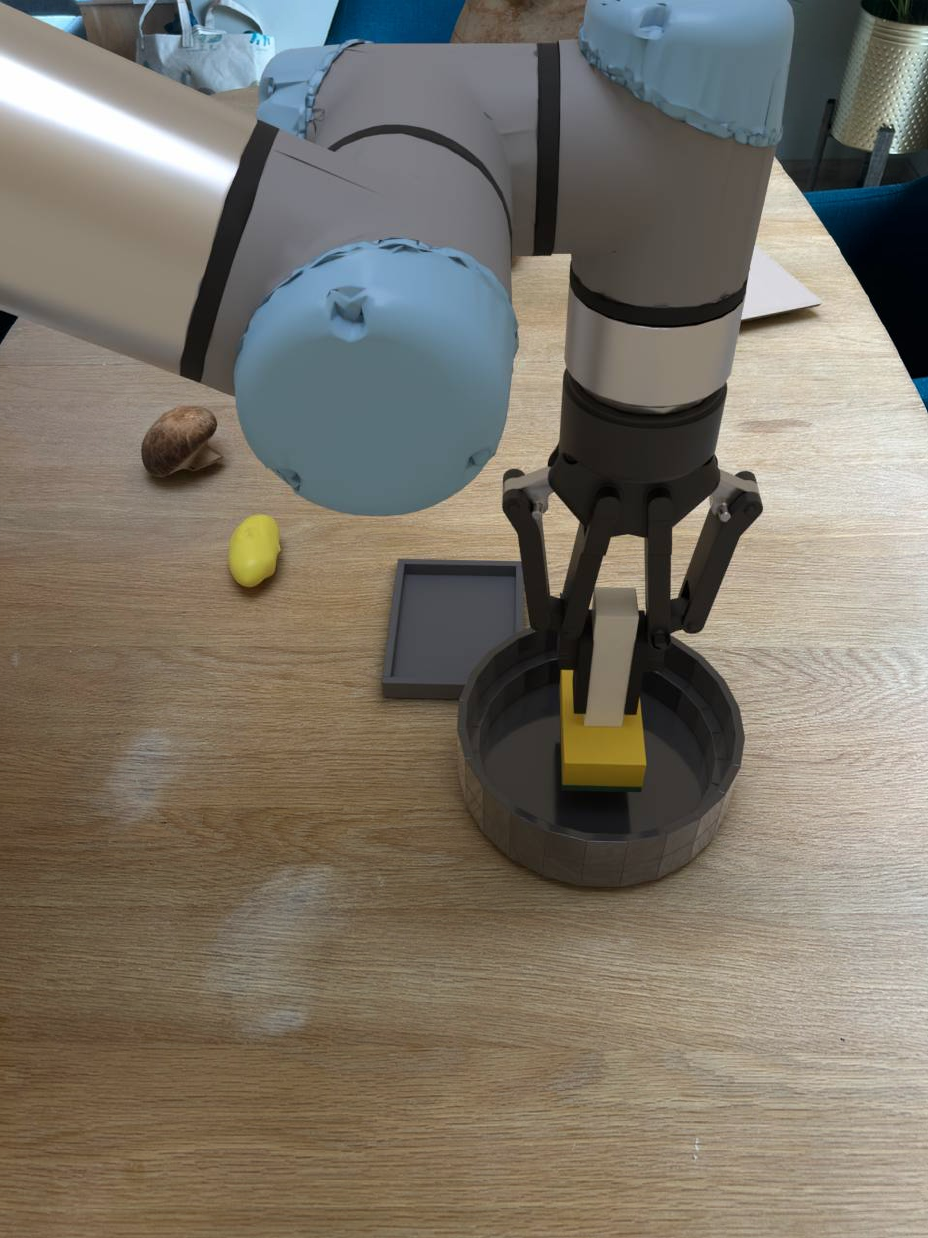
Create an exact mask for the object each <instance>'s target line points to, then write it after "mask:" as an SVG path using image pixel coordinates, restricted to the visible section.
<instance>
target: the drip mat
mask: <svg viewBox="0 0 928 1238" xmlns="http://www.w3.org/2000/svg"><path fill="white" fill-rule="evenodd" d="M396 563H397V564H396V569H395V570H396V571H395V578H394V585H393V594H392V599H391V600H392V601H391V609H390V615H389V623H388V632H387V639H386V646H385V653H384V662H383V669H382V675H381V689H382V697H383V698H397V699H432V700H433V699H435V700H436V699H438V700H439V699H440V700H459V699H460V696H461V694H462V691H463V689H464V687H465V684H466V682H467V679H468V677H469V675H470V673H471V672H472V671H473V669H474V668H475V667H476V666H477V665H478V663H479V662H480V661H481V660H482V658H483V657H484V656H485V655H486V654H487V652H489V651H490V650H491V649H492V648H494V647H495V646H497V645H498V644H499V643H501V642H502V641H504V640H505V639H507V638H508V637H509V636H511V635H512V634H514V633H516V632H519V631H521V630H524V579H523V571H522V564H521V560H488V559H486V560H484V559H435V558H434V559H433V558H398V559H397V562H396Z"/></svg>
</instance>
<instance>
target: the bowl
mask: <svg viewBox="0 0 928 1238" xmlns="http://www.w3.org/2000/svg"><path fill="white" fill-rule="evenodd" d="M671 642H672V644H671V646H670V647H669V649H667V650H665V654H664V659H663V664H662V667H661V668H660V669H659V671H644V674H643V680H642V686H641V692H640V705H641V715H642V725H643V735H644V745H645V755H646V770H645V775H644V780H643V785H642V791H641V792H607V791H568V790H562V779H561V743H560V708H559V688H560V675H561V670H560V668H559V666H558V655H557V644H558V633H557V631H555V630H553V629H550V628H549V629H548V630H546V631H542V632H539V631H535V630H533V629H532V628H531V627H530V626H529V627H526V628H523V630H521V631H519V632H516V633H514V634H512V635H511V636H509V637H508V638H507V639H505V640H504V641H502V642H501V643H499V644H498V645H497V646H495V647H494V648H492V649H491V650H490V651H489V652H487V654H486V655H485V656H484V657H483V658H482V660H481V661H480V662H479V663H478V665H477V666H476V667H475V668H474V669H473V671H472V672H471V673H470V675H469V677H468V679H467V682H466V684H465V687H464V689H463V691H462V694H461V696H460V699H458V705H457V721H456V723H457V724H456V740H457V742H456V744H457V766H458V767H457V769H458V771H457V772H458V779H459V783H460V788H461V792H462V795H463V799H464V803H465V805H466V808H467V809H468V812H470V814H471V816H472V817H473V819H474V821H475V822H476V824H477V825H478V827H479V829H480V830H481V832H482V833H483V834H484V836H485V837H487V838H488V839H489V841H491V842H492V843H493V844H494V845H495V846H496V847H497V848H498V849H499V850H500V851H502V852H503V853H504V854H505V855H506V856H507V857H508V858H510V859H511V860H513V861H515V862H517V863H519V864H521V865H522V866H524V867H526V868H527V869H529V870H532V871H533V872H535V873H537V874H538V875H541V876H542V877H545V878H549V879H553V880H556V881H561V882H564V883H568V884H571V885H575V886H579V887H580V886H582V887H606V888H607V887H608V888H609V887H610V888H621V887H626V886H631V885H636V884H641V883H645V882H651V881H655V880H659V879H660V878H662V877H664V876H666V875H668V874H670V873H671V872H673V871H676V870H677V869H679V868H681V867H683V866H685V865H687V864H688V863H690V862H691V861H692V860H693V859H694V858H695V857H696V856H697V855H698V854H699V853H700V852H701V851H702V850H703V849H705V848H706V846H708V845H709V844H710V843H711V842H712V840H713V839H714V837H715V836H716V833H717V831H718V829H719V828H720V826H721V824H722V822H723V821H724V818H725V816H726V815H727V812H728V808H729V805H730V803H731V799H732V797H733V793H734V789H735V787H736V784H737V780H738V777H739V773H740V770H741V767H742V762H743V755H744V749H745V742H746V735H745V729H744V725H743V724H744V723H743V718H742V713H741V708H740V706H739V704H738V702H737V700H736V698H735V696H734V694H733V692H732V690H731V689H730V686H729V685H728V683H727V681H726V680H725V678H724V677H723V676H722V675H721V674H720V673H719V672H718V670H717V669H716V668H715V667H714V666H713V665H712V664H711V663H710V662H709V660H707V659H706V657H704V656H703V655H702V654H701V653H699V652H697V651H696V650H695V649H693V648H692V647H690V646H689V645H687V644H686V643H685V642H683V641H682V640H680V639H679V638H677V637H675V635H671Z"/></svg>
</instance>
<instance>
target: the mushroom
mask: <svg viewBox="0 0 928 1238" xmlns="http://www.w3.org/2000/svg"><path fill="white" fill-rule="evenodd" d="M217 428H218V421H217V417H216V416H215V414H214V413H213V412H212V411H211V410H209V409H208V408H206V407H203V406H200V405H199V406H197V405H184V406H183V405H182V406H177V407H174V408H172V409H170V410H167V411H166V412H164V413H163V414H162V415H161V416H159V418H157V420H156V421H154V423H152V425H151V426H150V427H149V429H148V430H147V431H146V433H145V436H144V437H143V440H142V442H141V447H140V448H141V449H140V455H141V461H142V464H143V466H144V468H145V470H146V471H147V472H148V473H149V474H150V475H152V476H153V477H157V478H164V477H167V476H169V475H172V474H173V473H175V472H177V471H179V470H183V469H184V470H185V469H186V470H189V471H190V472H196V471H199V470H201V469H203V468H206V467H208V466H210V465H212V464H215V463H217V462H219V461H221V460H222V459H224V456H223V455H221V454H220V453H218V452H217V451H215V450H213V448H211V446H209V444H208V442H209V440H210V439H212V437H213V436H214V435H215V432H216V431H217Z"/></svg>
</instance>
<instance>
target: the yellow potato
mask: <svg viewBox="0 0 928 1238" xmlns="http://www.w3.org/2000/svg"><path fill="white" fill-rule="evenodd" d="M280 534H281V533H280V528H279V525H278V523H277V521H276V520H275V519H274V518H273V517H272V516H271V515H267V514H253V515H251V516H249V517H247V518H245V519H244V520H243V521H242V522H241V523H240V524H239V525H238V526H237V527H236V529H235V530H234V532H233V533H232V535H231V538H230V541H229V546H228V553H227V555H228V556H227V557H228V558H227V559H228V560H227V561H228V562H227V563H228V567H229V571H230V573H231V576H232V577H233V579H234V580H235V581H236V582H237V584H239V585H241V586H243V587H245V588H253V587H255V586H258V585H260V584H261V583H262V581H264V580H265V579H267V578H270V577H271V576H273V575H274V573H275V571H276V568H277V567H276V566H277V561H278V555H279V553H280V552H281V551H282V549H281V547H280V538H281V537H280V536H281V535H280Z"/></svg>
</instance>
